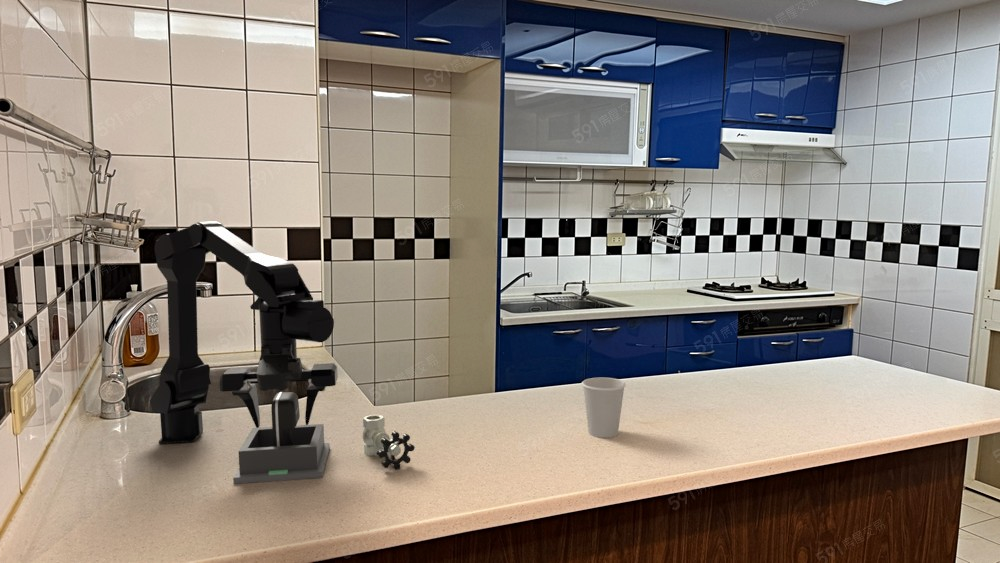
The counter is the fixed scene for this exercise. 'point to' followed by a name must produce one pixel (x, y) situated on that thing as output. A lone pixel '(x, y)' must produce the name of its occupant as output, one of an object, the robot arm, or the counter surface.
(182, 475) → the counter surface
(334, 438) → the counter surface
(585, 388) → the dixie cup
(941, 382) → the counter surface
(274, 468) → the dock
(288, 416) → the battery charger
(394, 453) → the valve
